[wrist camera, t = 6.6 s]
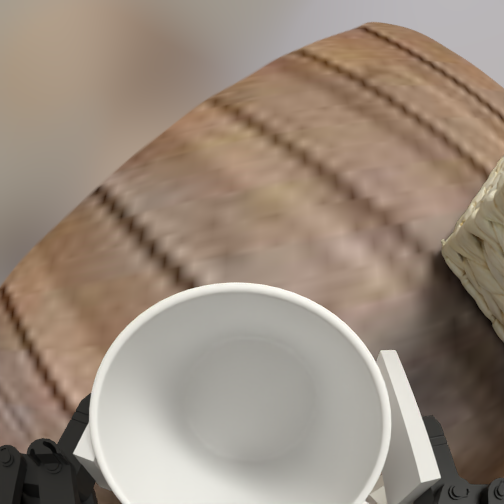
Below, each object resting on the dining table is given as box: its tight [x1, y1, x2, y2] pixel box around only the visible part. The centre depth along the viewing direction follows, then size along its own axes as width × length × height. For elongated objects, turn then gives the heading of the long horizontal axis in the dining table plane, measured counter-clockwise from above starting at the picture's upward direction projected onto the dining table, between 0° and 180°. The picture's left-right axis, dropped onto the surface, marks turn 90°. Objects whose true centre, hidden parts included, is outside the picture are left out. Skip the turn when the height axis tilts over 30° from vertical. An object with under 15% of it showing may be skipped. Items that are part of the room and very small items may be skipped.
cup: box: [89, 283, 391, 504], centre depth 11 cm, size 8×12×10 cm
